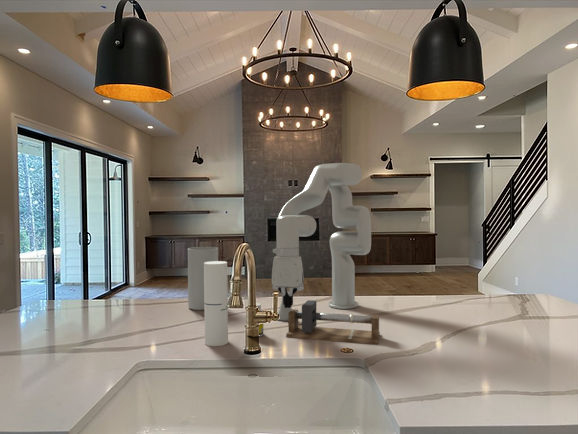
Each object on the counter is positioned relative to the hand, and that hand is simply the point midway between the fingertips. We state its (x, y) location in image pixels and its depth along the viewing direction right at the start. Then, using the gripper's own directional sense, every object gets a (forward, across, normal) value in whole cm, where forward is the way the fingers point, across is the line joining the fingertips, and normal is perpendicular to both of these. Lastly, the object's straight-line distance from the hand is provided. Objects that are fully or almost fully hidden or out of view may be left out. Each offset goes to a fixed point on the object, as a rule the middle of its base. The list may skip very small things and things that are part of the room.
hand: (288, 307), depth 140 cm
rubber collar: (+7, +7, 0) cm, 10 cm away
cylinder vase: (+9, -45, +25) cm, 52 cm away
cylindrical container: (+9, -19, -16) cm, 26 cm away
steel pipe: (+4, +15, 0) cm, 16 cm away
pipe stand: (+8, +15, 0) cm, 18 cm away
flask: (+9, -6, +16) cm, 19 cm away
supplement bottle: (+9, -10, -6) cm, 14 cm away
